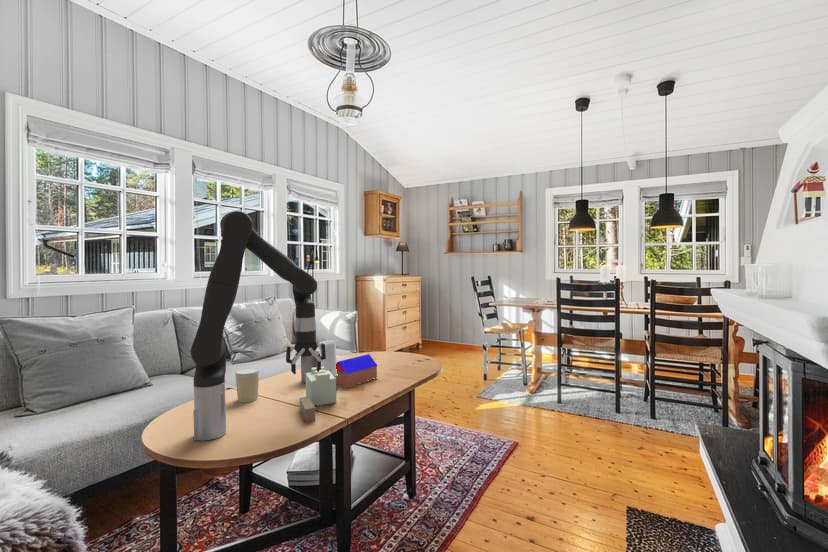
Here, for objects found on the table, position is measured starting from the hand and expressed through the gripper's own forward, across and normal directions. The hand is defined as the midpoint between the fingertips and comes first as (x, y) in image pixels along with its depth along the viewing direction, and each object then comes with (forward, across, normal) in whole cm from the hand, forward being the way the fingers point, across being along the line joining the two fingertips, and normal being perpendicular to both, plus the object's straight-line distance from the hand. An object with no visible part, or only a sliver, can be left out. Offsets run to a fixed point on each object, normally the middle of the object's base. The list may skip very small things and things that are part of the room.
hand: (306, 372), depth 147 cm
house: (+16, +28, +36) cm, 48 cm away
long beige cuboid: (+16, 0, 0) cm, 16 cm away
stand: (+16, +8, +16) cm, 24 cm away
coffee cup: (+16, -20, +30) cm, 39 cm away
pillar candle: (+16, +9, +46) cm, 50 cm away
